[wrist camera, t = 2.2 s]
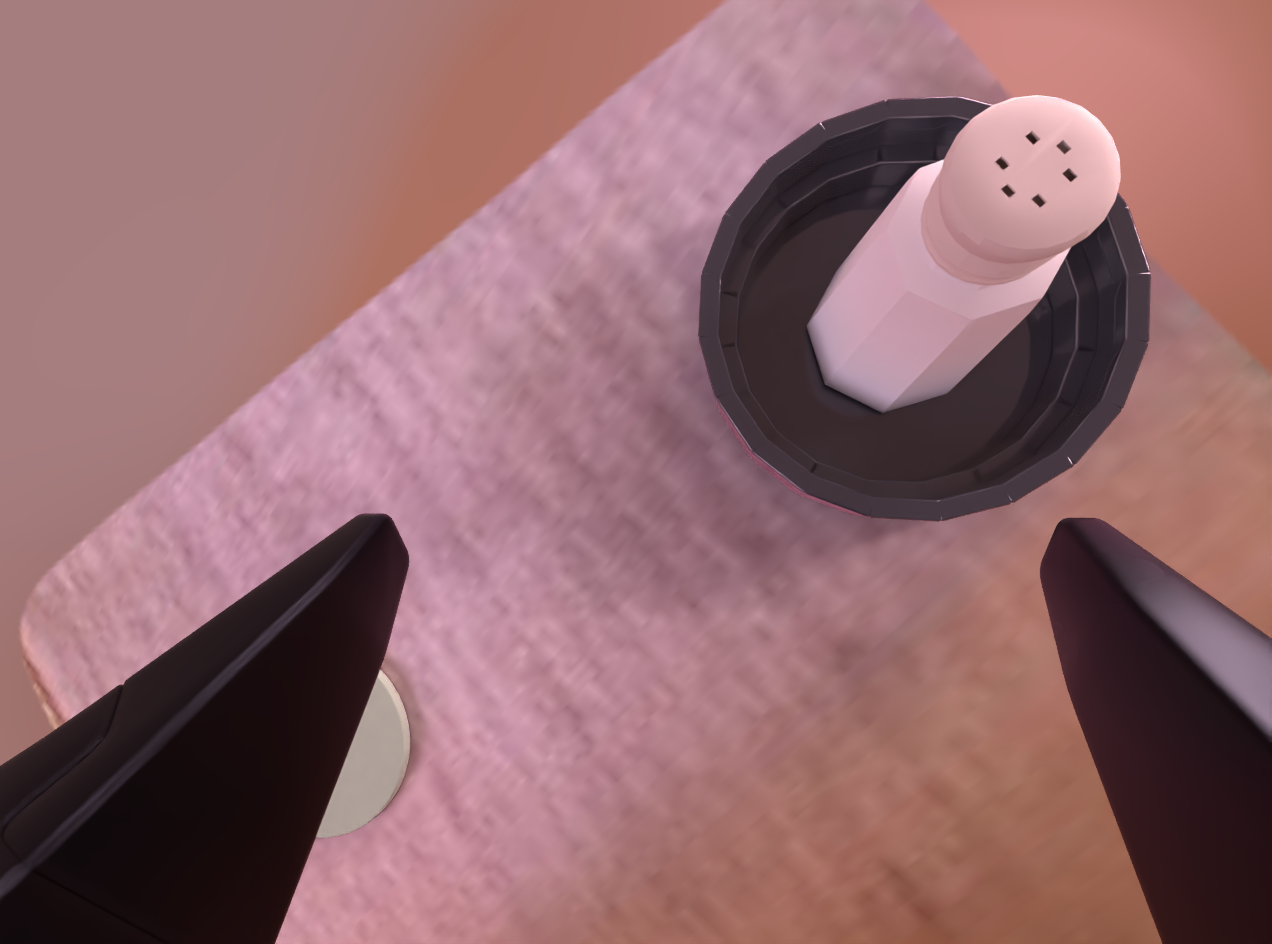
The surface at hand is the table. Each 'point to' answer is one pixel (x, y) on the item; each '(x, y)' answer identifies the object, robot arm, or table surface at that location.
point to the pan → (935, 428)
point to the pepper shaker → (964, 252)
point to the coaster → (370, 763)
